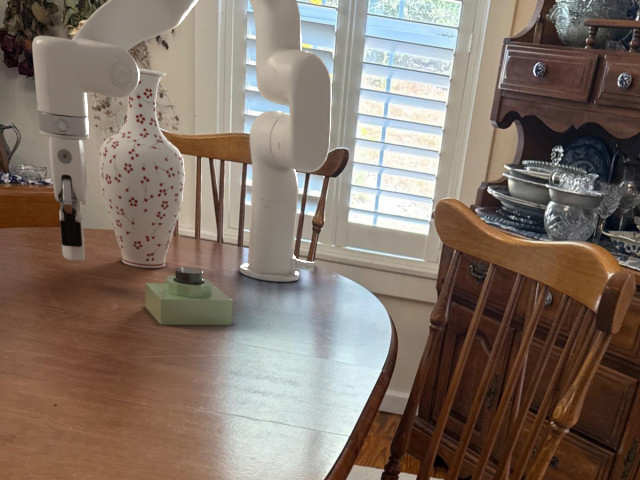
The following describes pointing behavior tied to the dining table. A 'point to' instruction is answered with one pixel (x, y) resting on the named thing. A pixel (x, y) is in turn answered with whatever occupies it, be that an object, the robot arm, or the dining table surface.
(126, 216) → the vase
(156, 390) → the dining table surface
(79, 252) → the eye dropper bottle
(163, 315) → the button base
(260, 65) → the robot arm
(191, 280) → the dark grey button cap
